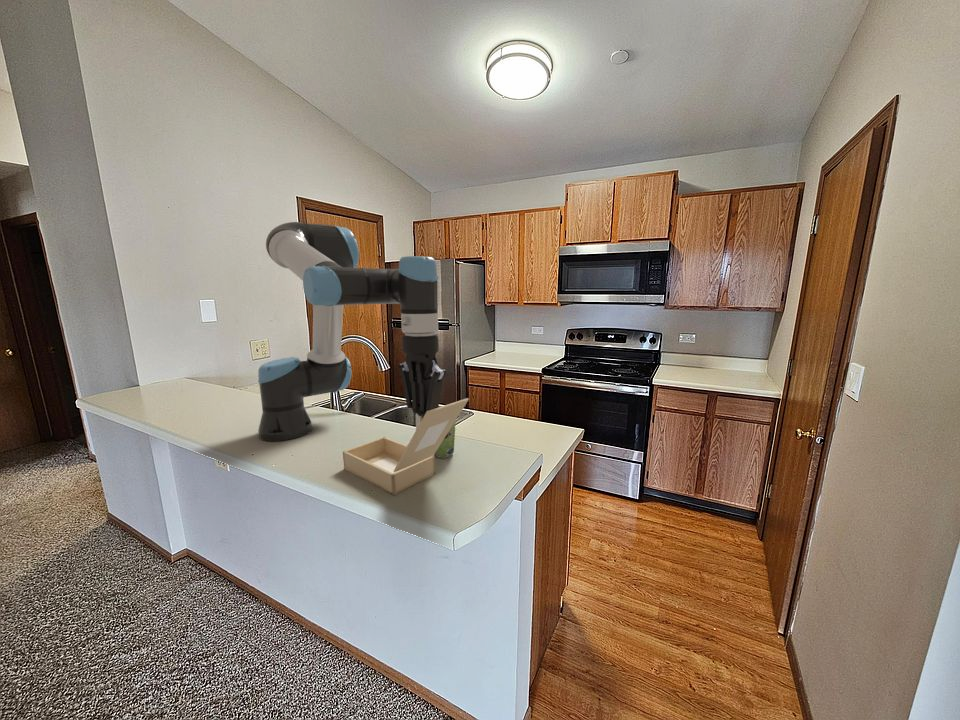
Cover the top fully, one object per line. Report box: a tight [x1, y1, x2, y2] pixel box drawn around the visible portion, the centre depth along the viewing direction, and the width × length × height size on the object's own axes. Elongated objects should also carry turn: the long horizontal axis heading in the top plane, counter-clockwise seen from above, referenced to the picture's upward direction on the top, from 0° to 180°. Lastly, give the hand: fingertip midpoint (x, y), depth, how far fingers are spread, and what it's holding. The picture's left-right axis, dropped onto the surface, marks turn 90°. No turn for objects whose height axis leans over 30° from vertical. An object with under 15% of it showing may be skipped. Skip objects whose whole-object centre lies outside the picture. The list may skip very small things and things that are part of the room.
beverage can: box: [433, 421, 457, 459], centre depth 100 cm, size 6×7×12 cm
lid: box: [394, 397, 470, 473], centre depth 80 cm, size 19×12×1 cm
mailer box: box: [342, 436, 436, 496], centre depth 92 cm, size 20×12×5 cm, turn 50°
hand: (423, 441), depth 82 cm, fingers closed
